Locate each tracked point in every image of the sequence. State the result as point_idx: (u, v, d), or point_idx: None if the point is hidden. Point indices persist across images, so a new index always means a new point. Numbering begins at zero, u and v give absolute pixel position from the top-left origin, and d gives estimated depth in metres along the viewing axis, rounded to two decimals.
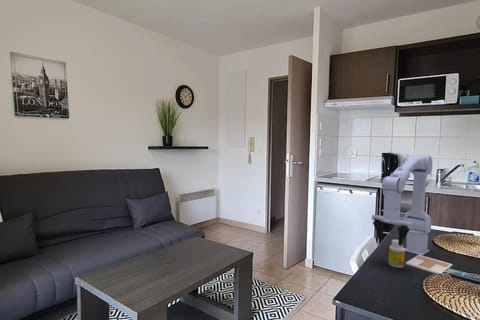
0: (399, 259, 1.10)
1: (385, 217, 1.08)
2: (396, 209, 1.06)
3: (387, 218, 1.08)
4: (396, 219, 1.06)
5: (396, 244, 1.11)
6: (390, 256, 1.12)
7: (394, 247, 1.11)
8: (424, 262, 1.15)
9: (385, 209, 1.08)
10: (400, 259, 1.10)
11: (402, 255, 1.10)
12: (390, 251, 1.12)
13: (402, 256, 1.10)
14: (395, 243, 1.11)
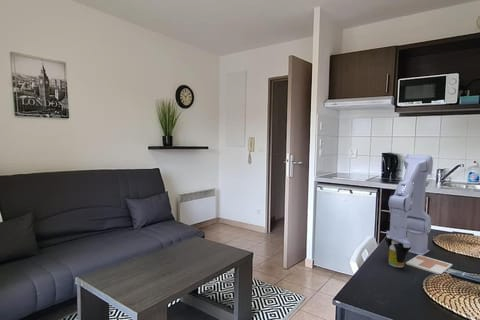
0: None
1: (389, 233, 1.13)
2: (397, 227, 1.09)
3: (390, 234, 1.12)
4: (397, 237, 1.10)
5: None
6: (390, 256, 1.12)
7: (394, 247, 1.11)
8: (424, 262, 1.15)
9: (390, 226, 1.13)
10: None
11: None
12: (390, 251, 1.12)
13: None
14: (395, 243, 1.11)
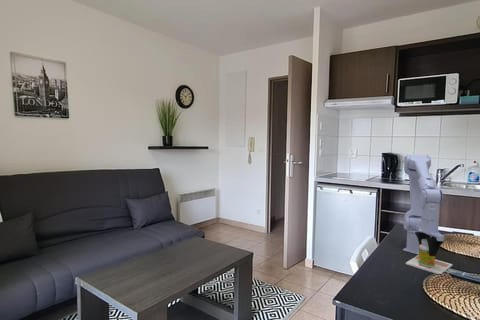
0: (430, 258, 1.09)
1: (420, 227, 1.12)
2: (430, 220, 1.09)
3: (421, 228, 1.12)
4: (429, 230, 1.09)
5: (427, 243, 1.10)
6: (420, 255, 1.12)
7: (424, 246, 1.10)
8: None
9: (421, 219, 1.12)
10: (431, 259, 1.09)
11: None
12: (420, 250, 1.12)
13: None
14: (425, 242, 1.10)
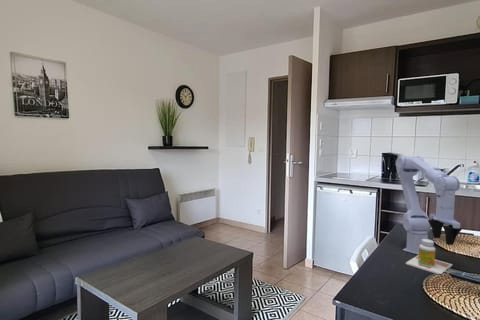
0: (430, 258, 1.09)
1: (435, 215, 1.12)
2: (445, 208, 1.08)
3: (436, 216, 1.11)
4: (444, 218, 1.08)
5: (427, 243, 1.10)
6: (420, 255, 1.12)
7: (424, 246, 1.10)
8: None
9: (436, 207, 1.12)
10: (431, 259, 1.09)
11: (433, 254, 1.09)
12: (420, 250, 1.12)
13: (433, 255, 1.09)
14: (425, 242, 1.10)
